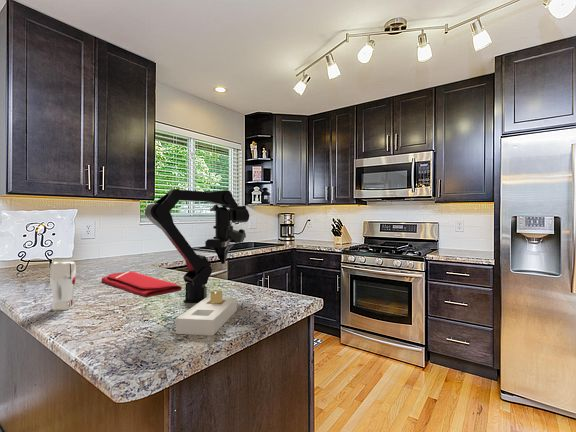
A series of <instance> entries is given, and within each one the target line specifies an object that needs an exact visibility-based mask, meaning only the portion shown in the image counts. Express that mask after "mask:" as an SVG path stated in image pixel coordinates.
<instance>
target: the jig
mask: <svg viewBox="0 0 576 432" xmlns="http://www.w3.org/2000/svg"><path fill="white" fill-rule="evenodd" d="M237 310H238V297H232V296H231V297H230V296H229V297H228V296H226V297H225V296H222V304H211V296H207V297H206V298H205V299H203V300H202V301H200V302H199V303H198V302H196V303H195V304H194V305H193V306H192V307H190V308H189V309H187V310H186V311H185V312H183V313H182V314H181V315H179V316H177V317H176V318H175V334H177V335H193V336H196V335H197V336H208V337H213V336H214V335H215V334H216V333H217V332H218V331H219V330H220V329H221V328H222V327H223V325H225V323H227V321H229V320H230V318H232V316H233V315H234V314H235V313H236V312H237Z"/></svg>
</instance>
